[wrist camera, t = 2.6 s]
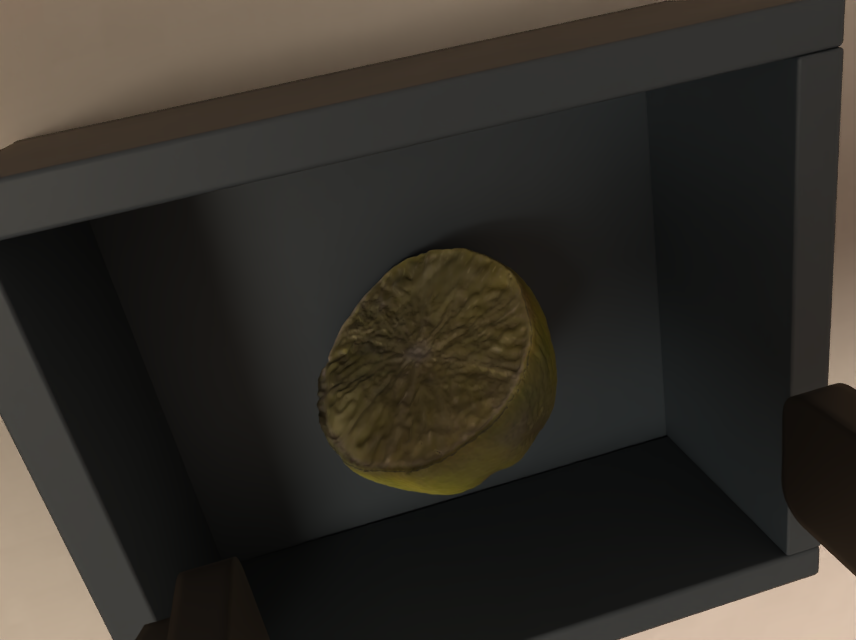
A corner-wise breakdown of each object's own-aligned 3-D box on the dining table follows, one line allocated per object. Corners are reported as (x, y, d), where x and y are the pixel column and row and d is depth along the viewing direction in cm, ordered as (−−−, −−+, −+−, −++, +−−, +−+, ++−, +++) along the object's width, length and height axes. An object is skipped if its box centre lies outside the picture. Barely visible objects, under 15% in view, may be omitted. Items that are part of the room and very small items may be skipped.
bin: (17, 140, 14) (-109, 201, 9) (667, 0, 16) (848, -10, 11) (203, 590, 19) (184, 785, 14) (687, 445, 20) (820, 575, 16)
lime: (302, 407, 17) (319, 545, 13) (343, 207, 16) (379, 283, 11) (479, 426, 18) (552, 559, 14) (533, 244, 17) (636, 325, 12)
